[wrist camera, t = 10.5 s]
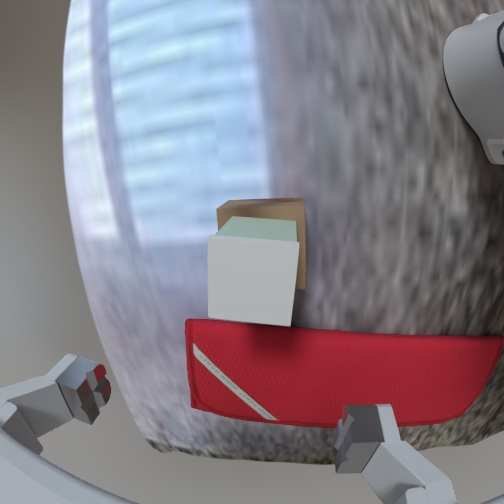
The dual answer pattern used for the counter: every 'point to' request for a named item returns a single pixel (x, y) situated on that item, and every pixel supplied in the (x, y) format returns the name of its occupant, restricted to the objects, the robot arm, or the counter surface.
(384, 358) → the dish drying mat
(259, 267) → the sage tin
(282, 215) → the walnut block
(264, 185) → the counter surface
